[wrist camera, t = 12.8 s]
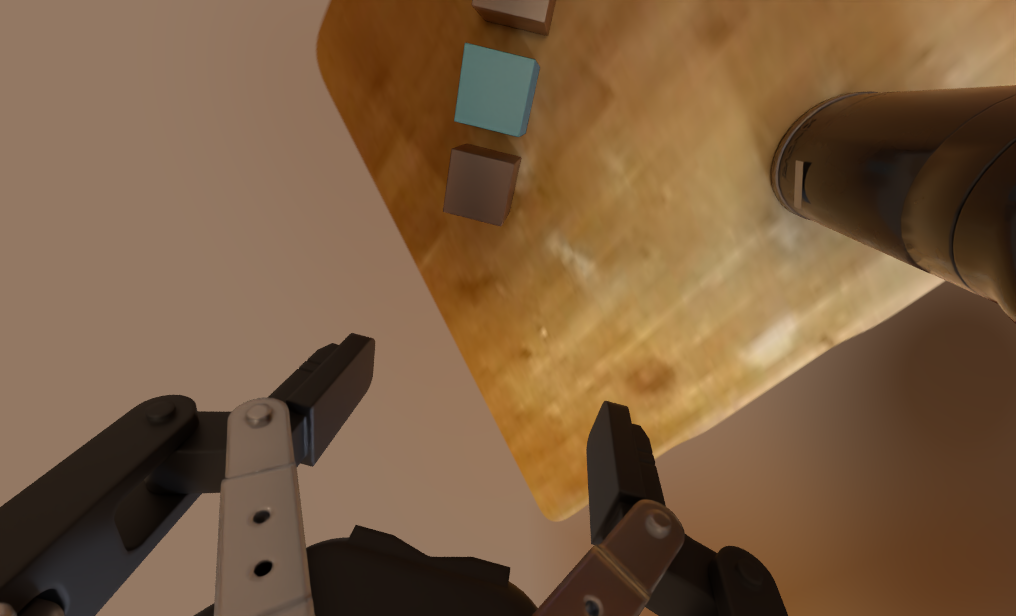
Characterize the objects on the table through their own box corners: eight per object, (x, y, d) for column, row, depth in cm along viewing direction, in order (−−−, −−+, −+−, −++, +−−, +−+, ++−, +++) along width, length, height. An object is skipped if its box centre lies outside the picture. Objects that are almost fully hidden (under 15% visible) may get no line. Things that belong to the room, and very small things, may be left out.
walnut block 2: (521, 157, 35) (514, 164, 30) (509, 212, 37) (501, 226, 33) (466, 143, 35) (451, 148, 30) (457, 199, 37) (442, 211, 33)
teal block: (540, 66, 31) (535, 59, 27) (525, 133, 34) (519, 137, 29) (479, 51, 32) (464, 42, 27) (468, 119, 34) (453, 121, 29)
